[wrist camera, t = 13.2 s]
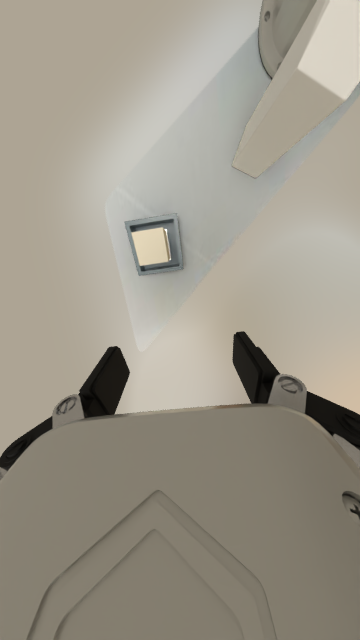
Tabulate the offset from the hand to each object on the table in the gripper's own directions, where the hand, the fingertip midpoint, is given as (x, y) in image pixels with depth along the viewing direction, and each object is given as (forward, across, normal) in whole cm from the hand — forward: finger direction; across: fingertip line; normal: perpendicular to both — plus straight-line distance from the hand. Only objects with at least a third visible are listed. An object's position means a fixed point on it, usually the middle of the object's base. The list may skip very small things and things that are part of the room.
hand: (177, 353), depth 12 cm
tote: (+32, +4, -8) cm, 34 cm away
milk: (+32, -18, -22) cm, 43 cm away
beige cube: (+26, +4, -8) cm, 28 cm away
